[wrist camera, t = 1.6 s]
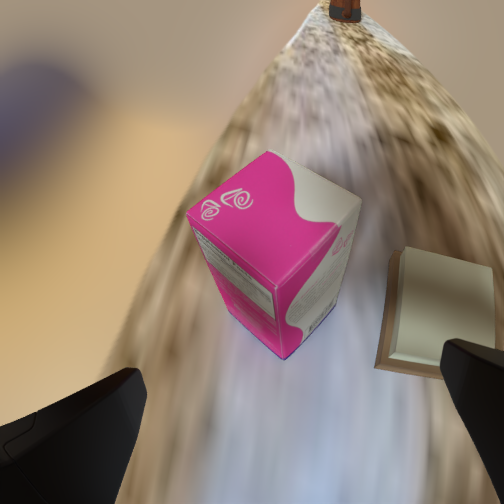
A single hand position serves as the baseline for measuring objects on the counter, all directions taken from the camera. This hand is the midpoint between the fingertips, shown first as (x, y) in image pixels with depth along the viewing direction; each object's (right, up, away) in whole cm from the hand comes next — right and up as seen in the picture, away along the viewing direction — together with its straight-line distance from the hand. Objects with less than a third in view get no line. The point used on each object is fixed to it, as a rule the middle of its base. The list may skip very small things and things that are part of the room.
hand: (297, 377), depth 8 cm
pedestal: (+13, -2, +13) cm, 18 cm away
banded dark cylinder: (+23, +63, +54) cm, 86 cm away
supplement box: (+1, -1, +15) cm, 15 cm away
